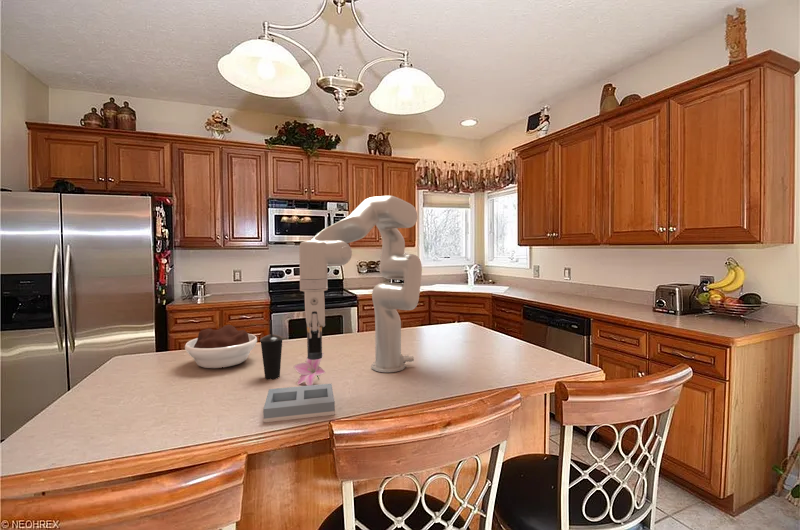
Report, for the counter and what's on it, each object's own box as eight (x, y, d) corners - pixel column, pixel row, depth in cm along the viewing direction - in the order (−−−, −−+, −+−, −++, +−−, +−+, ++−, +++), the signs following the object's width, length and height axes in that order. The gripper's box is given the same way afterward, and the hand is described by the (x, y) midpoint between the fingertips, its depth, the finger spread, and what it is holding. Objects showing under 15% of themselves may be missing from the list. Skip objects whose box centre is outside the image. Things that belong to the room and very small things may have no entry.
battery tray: (331, 394, 114) (331, 383, 114) (334, 414, 100) (334, 401, 100) (269, 400, 110) (269, 389, 109) (263, 422, 96) (263, 409, 96)
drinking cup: (276, 381, 125) (275, 322, 124) (256, 380, 127) (254, 321, 126) (288, 374, 133) (286, 318, 132) (268, 372, 134) (267, 317, 133)
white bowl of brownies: (240, 375, 132) (239, 333, 131) (170, 375, 132) (168, 333, 132) (267, 355, 157) (266, 319, 156) (208, 355, 157) (207, 319, 156)
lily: (293, 381, 128) (284, 361, 123) (323, 363, 133) (316, 343, 129) (307, 403, 119) (297, 382, 115) (339, 382, 124) (331, 362, 120)
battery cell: (322, 355, 108) (321, 321, 107) (322, 359, 104) (322, 324, 103) (307, 356, 107) (307, 322, 106) (307, 360, 103) (306, 325, 102)
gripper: (329, 287, 97) (329, 357, 98) (326, 282, 113) (327, 342, 114) (299, 288, 95) (300, 359, 96) (300, 282, 111) (301, 343, 112)
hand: (314, 349), depth 105 cm, fingers closed on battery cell, 4 cm apart
